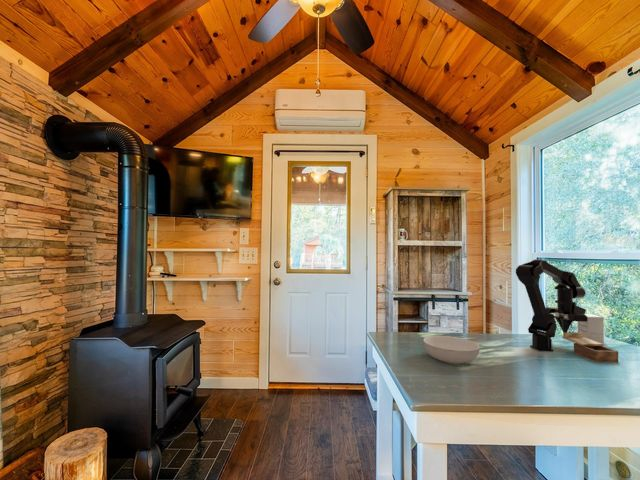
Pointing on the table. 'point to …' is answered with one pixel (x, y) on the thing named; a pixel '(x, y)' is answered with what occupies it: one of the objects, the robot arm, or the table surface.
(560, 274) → the robot arm
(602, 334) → the supplement box
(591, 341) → the lid
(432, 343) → the serving bowl
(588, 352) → the walnut box
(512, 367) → the table surface
